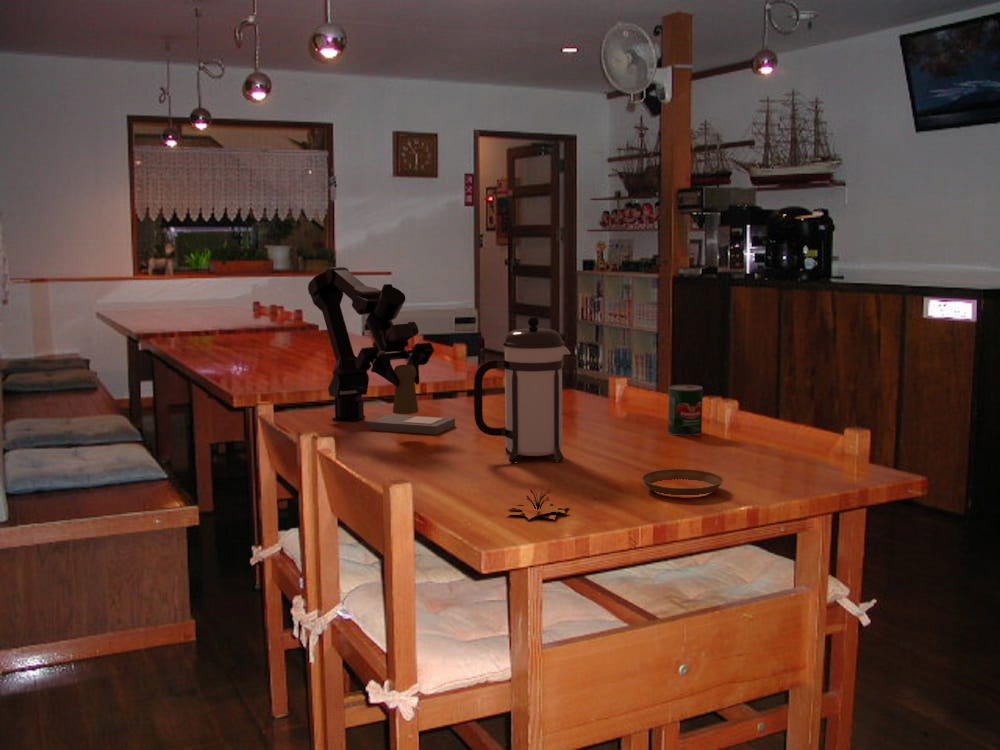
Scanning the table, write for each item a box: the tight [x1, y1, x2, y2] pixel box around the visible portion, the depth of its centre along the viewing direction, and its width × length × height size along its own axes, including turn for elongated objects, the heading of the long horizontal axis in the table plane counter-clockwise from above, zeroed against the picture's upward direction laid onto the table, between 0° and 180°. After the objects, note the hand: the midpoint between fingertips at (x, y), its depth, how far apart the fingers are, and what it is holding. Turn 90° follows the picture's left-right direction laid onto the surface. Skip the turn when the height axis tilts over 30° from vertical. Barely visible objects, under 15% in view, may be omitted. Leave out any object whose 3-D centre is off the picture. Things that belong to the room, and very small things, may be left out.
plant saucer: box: [641, 468, 724, 495], centre depth 186 cm, size 15×15×3 cm
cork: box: [392, 364, 419, 415], centre depth 234 cm, size 6×6×11 cm
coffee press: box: [473, 316, 571, 464], centre depth 212 cm, size 17×16×30 cm
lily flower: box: [511, 487, 566, 515], centre depth 172 cm, size 12×12×5 cm
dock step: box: [368, 413, 456, 436], centre depth 247 cm, size 18×11×2 cm, turn 68°
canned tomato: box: [667, 384, 704, 437], centre depth 238 cm, size 8×8×11 cm
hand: (408, 384), depth 233 cm, fingers closed on cork, 5 cm apart
